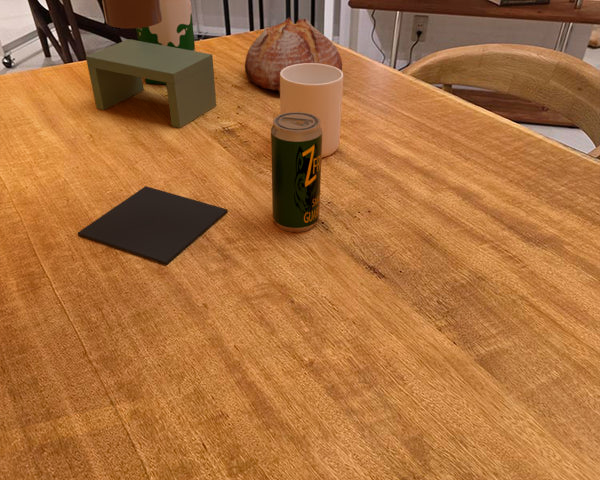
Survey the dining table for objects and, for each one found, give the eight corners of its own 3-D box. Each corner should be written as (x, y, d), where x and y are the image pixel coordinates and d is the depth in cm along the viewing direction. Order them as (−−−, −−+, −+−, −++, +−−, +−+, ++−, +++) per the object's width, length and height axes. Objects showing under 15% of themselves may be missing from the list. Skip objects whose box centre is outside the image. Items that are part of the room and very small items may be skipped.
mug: (279, 124, 89) (279, 54, 83) (334, 124, 90) (337, 54, 83) (281, 160, 80) (280, 84, 74) (341, 160, 80) (346, 84, 74)
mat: (78, 235, 65) (77, 232, 65) (146, 188, 74) (145, 185, 73) (166, 265, 61) (165, 262, 61) (227, 212, 70) (227, 209, 69)
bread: (314, 62, 115) (319, 6, 109) (355, 98, 100) (363, 35, 94) (232, 65, 110) (232, 6, 103) (263, 103, 95) (266, 38, 89)
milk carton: (189, 88, 101) (174, -46, 88) (138, 84, 101) (116, -49, 89) (202, 71, 107) (191, -56, 94) (154, 68, 108) (137, -58, 95)
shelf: (96, 108, 93) (85, 56, 88) (136, 88, 100) (128, 39, 95) (179, 128, 88) (173, 73, 83) (216, 105, 95) (212, 54, 90)
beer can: (265, 227, 67) (262, 126, 59) (283, 205, 71) (282, 107, 63) (309, 237, 66) (311, 135, 58) (325, 214, 70) (329, 115, 62)
